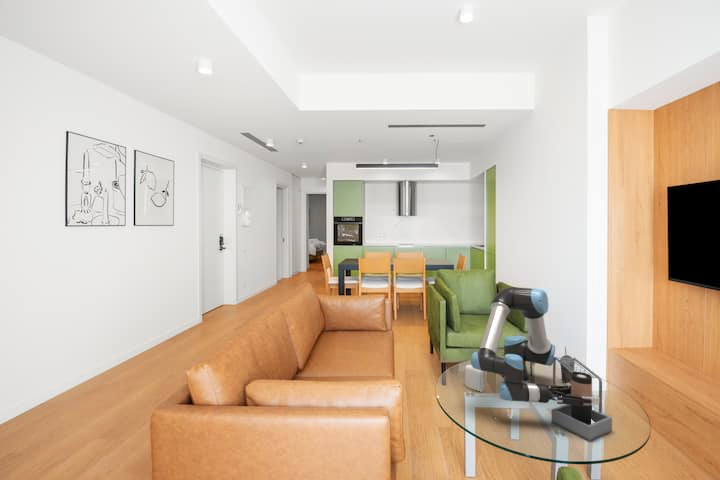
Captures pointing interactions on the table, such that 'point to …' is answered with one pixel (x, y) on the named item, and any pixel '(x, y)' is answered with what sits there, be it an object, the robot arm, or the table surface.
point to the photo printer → (474, 378)
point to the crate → (587, 432)
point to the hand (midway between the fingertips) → (593, 396)
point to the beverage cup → (563, 371)
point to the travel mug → (579, 388)
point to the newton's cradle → (575, 371)
